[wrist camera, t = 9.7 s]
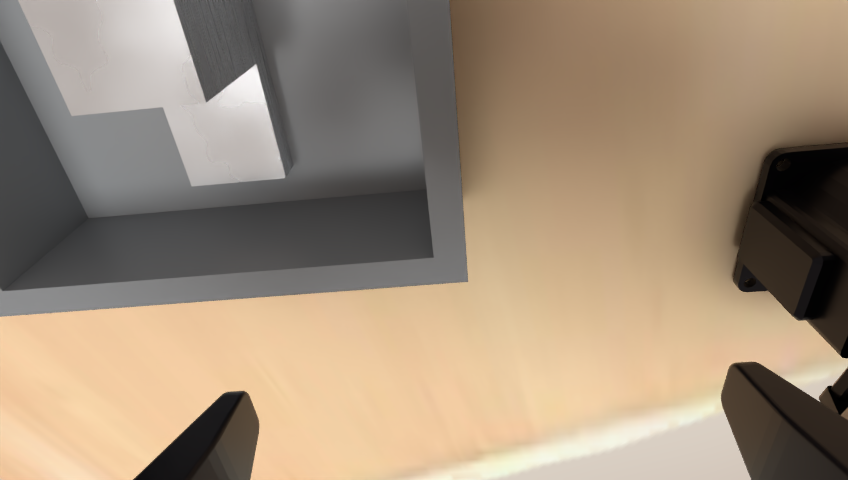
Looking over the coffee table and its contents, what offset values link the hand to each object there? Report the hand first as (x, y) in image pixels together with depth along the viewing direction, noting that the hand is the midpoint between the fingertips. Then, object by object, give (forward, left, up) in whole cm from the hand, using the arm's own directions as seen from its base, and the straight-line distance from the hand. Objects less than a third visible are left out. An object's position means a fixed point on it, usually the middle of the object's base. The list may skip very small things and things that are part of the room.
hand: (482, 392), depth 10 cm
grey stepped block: (+8, -4, -11) cm, 15 cm away
